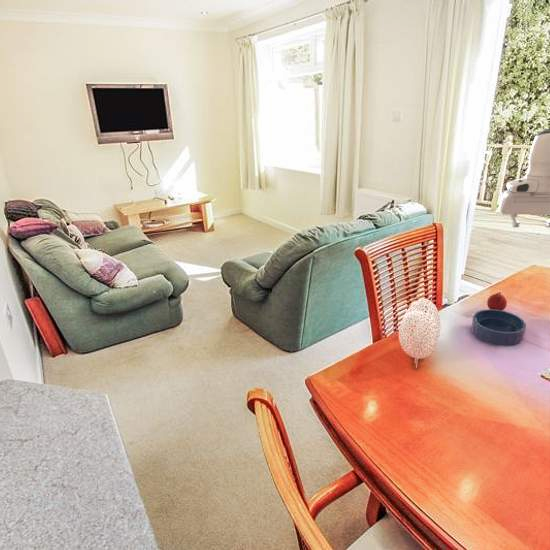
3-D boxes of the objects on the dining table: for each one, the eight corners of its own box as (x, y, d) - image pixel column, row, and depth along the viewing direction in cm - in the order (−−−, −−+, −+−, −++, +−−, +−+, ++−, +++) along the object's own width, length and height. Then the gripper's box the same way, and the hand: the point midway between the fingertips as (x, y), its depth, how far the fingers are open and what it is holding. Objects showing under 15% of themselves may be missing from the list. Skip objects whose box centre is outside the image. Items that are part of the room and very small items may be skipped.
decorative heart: (430, 381, 101) (436, 327, 94) (390, 370, 106) (393, 318, 99) (440, 345, 115) (446, 296, 108) (405, 337, 120) (408, 290, 113)
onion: (502, 318, 126) (506, 297, 123) (483, 313, 130) (487, 293, 127) (506, 311, 130) (510, 290, 127) (488, 306, 134) (491, 286, 130)
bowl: (514, 323, 123) (517, 310, 121) (529, 349, 110) (532, 334, 108) (467, 321, 126) (469, 308, 124) (476, 345, 114) (478, 331, 112)
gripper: (575, 181, 116) (564, 224, 121) (501, 183, 121) (494, 224, 127) (585, 185, 110) (573, 230, 116) (507, 187, 115) (499, 229, 121)
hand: (531, 227), depth 121 cm, fingers open, 8 cm apart
